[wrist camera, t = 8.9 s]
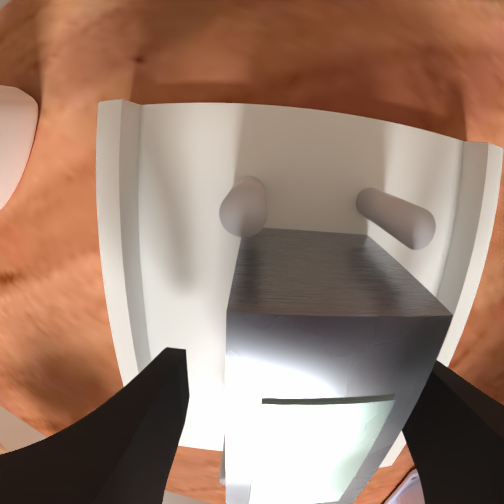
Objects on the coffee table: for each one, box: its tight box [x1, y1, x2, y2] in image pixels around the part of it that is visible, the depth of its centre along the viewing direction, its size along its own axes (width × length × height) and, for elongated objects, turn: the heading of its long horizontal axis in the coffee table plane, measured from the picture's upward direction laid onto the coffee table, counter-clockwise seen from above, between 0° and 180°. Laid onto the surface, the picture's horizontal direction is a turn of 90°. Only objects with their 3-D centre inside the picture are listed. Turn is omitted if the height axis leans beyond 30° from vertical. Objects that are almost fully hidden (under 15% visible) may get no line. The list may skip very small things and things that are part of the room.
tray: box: [96, 99, 503, 485], centre depth 10 cm, size 16×13×4 cm
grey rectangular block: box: [225, 228, 453, 504], centre depth 9 cm, size 8×4×6 cm, turn 177°
